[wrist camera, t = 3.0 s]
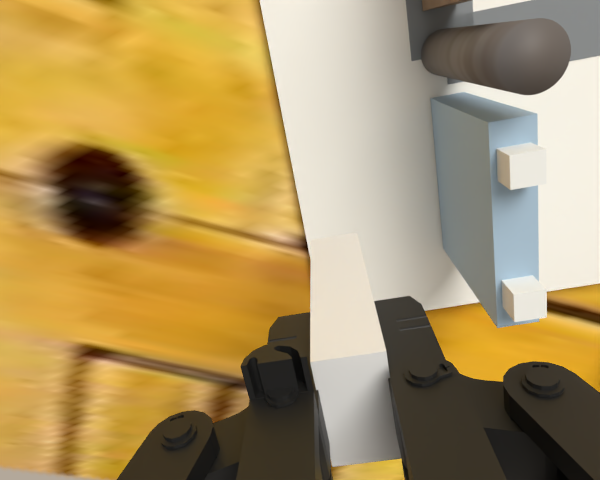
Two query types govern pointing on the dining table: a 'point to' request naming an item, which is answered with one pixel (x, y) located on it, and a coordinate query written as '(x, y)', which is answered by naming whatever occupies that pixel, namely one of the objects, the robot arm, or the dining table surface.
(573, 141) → the card
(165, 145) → the dining table surface
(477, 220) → the fence panel
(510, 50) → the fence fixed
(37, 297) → the dining table surface
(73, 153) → the dining table surface
